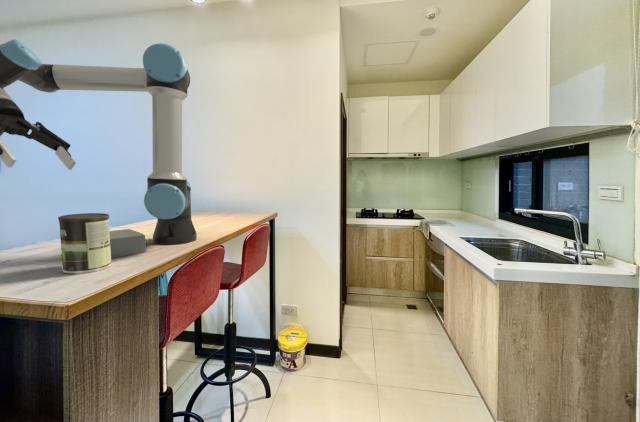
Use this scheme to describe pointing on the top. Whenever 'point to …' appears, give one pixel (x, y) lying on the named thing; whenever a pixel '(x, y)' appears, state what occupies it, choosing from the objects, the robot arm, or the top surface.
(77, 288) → the top surface
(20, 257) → the top surface
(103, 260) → the coffee can
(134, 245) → the base block
